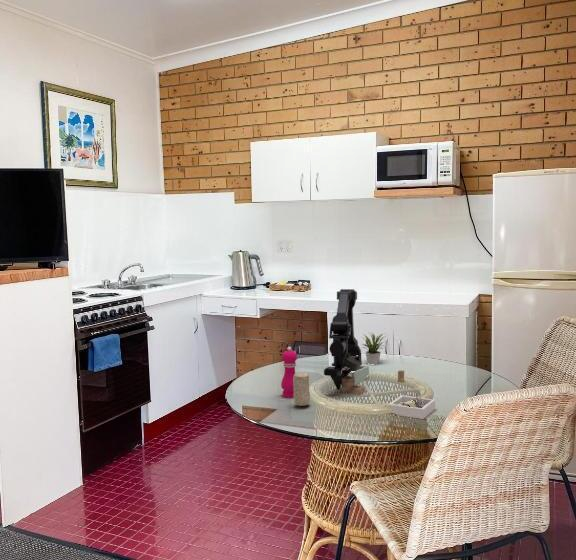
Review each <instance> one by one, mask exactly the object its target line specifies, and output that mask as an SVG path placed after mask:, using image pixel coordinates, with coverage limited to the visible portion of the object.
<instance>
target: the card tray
mask: <svg viewBox="0 0 576 560" xmlns="http://www.w3.org/2000/svg"><path fill="white" fill-rule="evenodd" d="M413 399H416V396H411V395H410V396H409V395H403V394H402V395H400V396H398V397H397V398H395V399H394V400H393V401H391V402H390V403H388V406H387V407H388V408H390V409H392V410H393V411H394V413H395V414H396V415H395V414H394V415H395V416H400V417H406V418H412V419H420V420H424V419H426V418H427V417H428V416H429V415H430V414H431V413H432V412H434V411H435V410H436V399H430V398H424V397H421V400H424V402H425V404H426V405H425V406H424V407H422V408H416V407H409V406H407V405H396V404H398V403H400V402H407V401H411V400H413ZM418 399H419V397H418ZM420 402H422V401H420Z"/></svg>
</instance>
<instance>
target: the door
mask: <svg viewBox="0 0 576 560" xmlns="http://www.w3.org/2000/svg"><path fill="white" fill-rule="evenodd" d="M369 368H370V367H369V366H368V365H367V366H366V367H364V368H362V369H359V370H357V371H355V372H353V373H351V377H355V386H358V385H359V384H360V383H362V382H364V381H365V379H366V377H367V375H368V374H369V375H370V371H369V370H370V369H369ZM366 380H367V379H366Z"/></svg>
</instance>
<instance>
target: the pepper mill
mask: <svg viewBox="0 0 576 560" xmlns="http://www.w3.org/2000/svg"><path fill="white" fill-rule="evenodd" d="M281 358H282V361H283V367H284V373H283V377H282V379H281V383H280V387H281V388H282V390H283V391H282V397H284V398H285V399H286V398H288V399H292V398H293V399H294V391H293V390H294V389H293V388H294V386H293V378H294V374H296V367H297V365H296V364H297V362H296V361H297V359H298V355H297V353H296V352H295V351H294V350H292V346H288V347H286V350H285V351H284V352H283V353H282V354H281Z"/></svg>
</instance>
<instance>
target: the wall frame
mask: <svg viewBox="0 0 576 560" xmlns="http://www.w3.org/2000/svg"><path fill="white" fill-rule="evenodd" d="M364 367H366V366H364V365H361V366H360V368H359V369H362V368H364ZM403 381H404V382H405V370H401V369H399V370H398V371H397V382H398V383H403Z"/></svg>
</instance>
